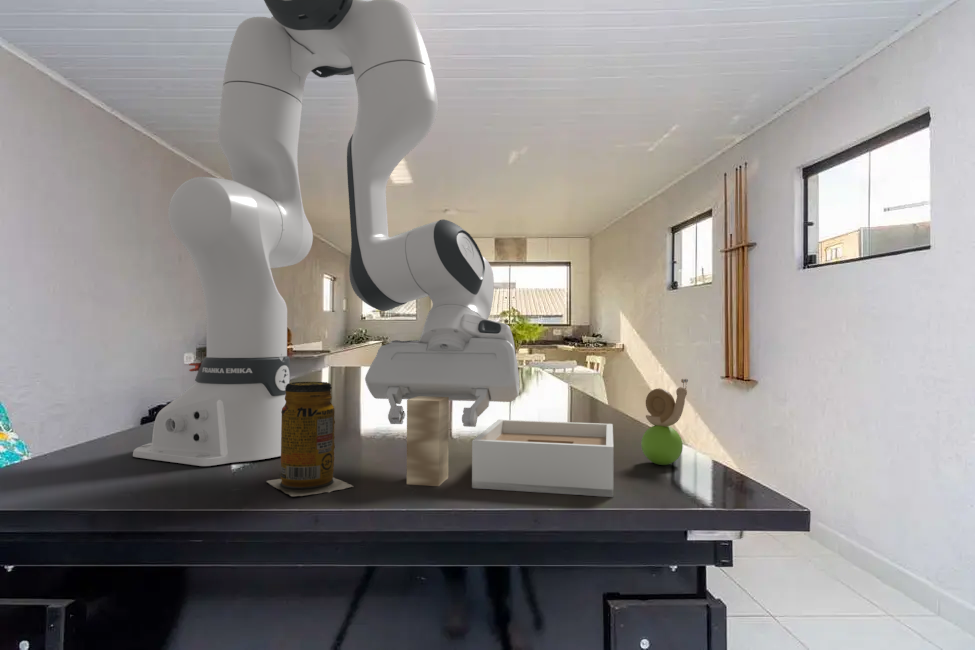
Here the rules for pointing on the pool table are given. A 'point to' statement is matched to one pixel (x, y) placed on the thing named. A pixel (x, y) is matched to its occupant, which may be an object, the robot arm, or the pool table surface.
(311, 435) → the condiment
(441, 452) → the beech peg
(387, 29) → the robot arm
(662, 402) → the snail figurine
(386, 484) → the pool table surface
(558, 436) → the open box
